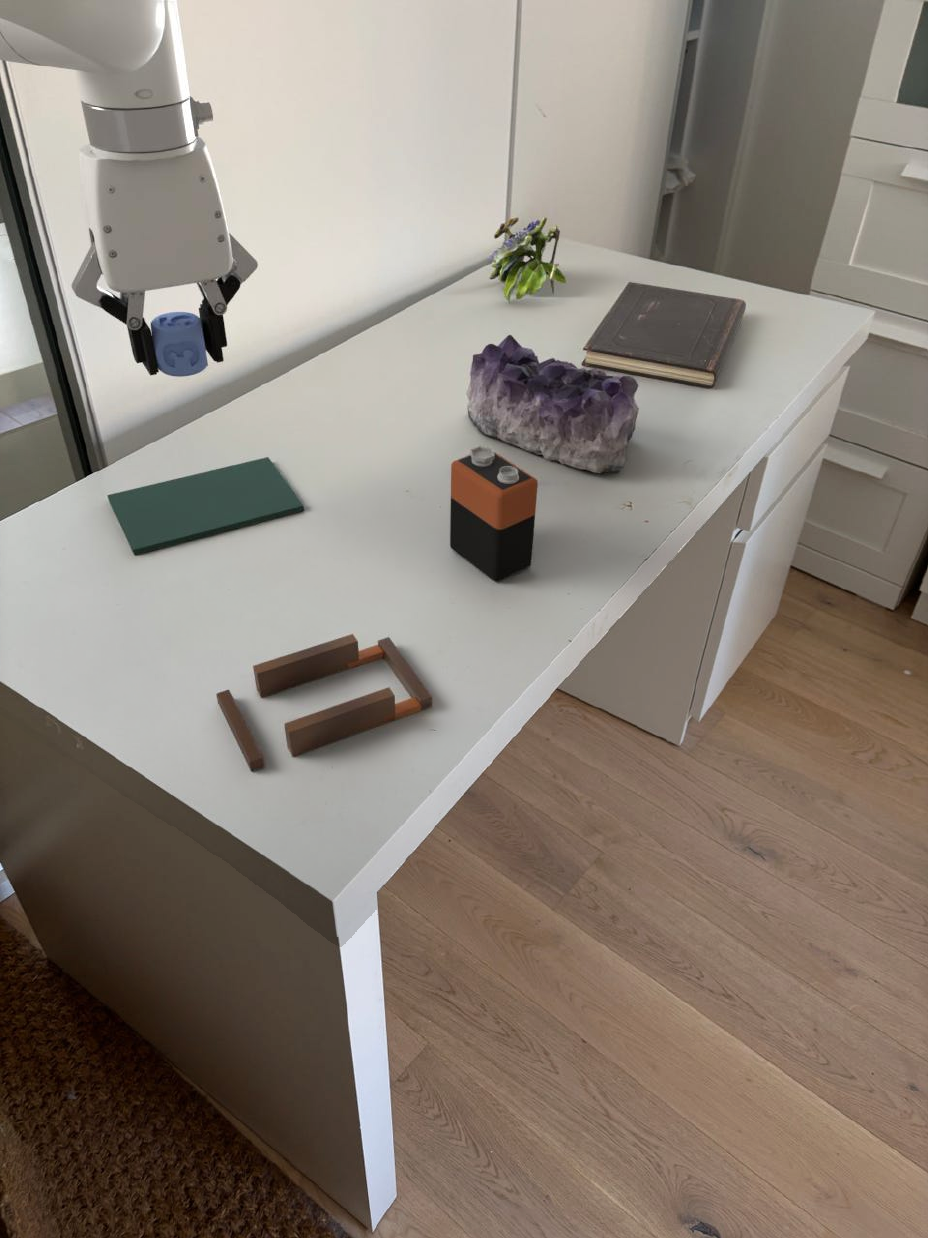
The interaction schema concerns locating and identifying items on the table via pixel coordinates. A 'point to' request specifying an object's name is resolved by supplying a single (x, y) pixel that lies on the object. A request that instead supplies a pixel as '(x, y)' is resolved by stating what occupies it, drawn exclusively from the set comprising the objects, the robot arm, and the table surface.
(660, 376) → the hardcover book
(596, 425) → the geode
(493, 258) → the passion flower
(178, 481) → the mat
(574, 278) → the table surface
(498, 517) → the battery
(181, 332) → the decorative dice
